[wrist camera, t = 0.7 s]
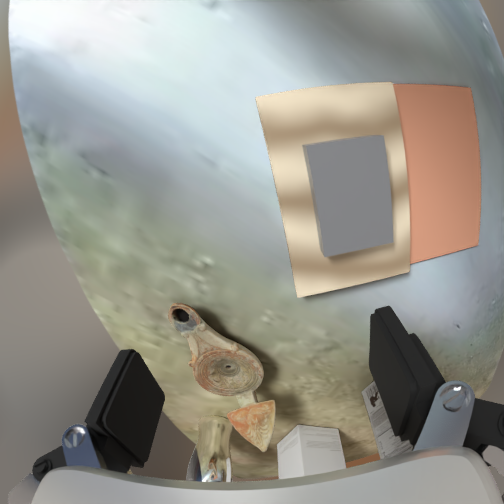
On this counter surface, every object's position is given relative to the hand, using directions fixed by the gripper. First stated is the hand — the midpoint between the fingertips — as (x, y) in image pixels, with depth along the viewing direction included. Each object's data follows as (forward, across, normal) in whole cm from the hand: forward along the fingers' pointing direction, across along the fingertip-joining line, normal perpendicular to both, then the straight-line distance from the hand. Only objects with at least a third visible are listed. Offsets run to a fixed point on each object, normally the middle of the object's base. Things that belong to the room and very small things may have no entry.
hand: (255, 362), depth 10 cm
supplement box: (+20, 0, +43) cm, 47 cm away
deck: (+19, -9, -1) cm, 21 cm away
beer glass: (+20, +15, +34) cm, 42 cm away
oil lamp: (+20, +8, +17) cm, 27 cm away
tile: (+16, -9, -1) cm, 19 cm away
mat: (+19, -22, -1) cm, 29 cm away
